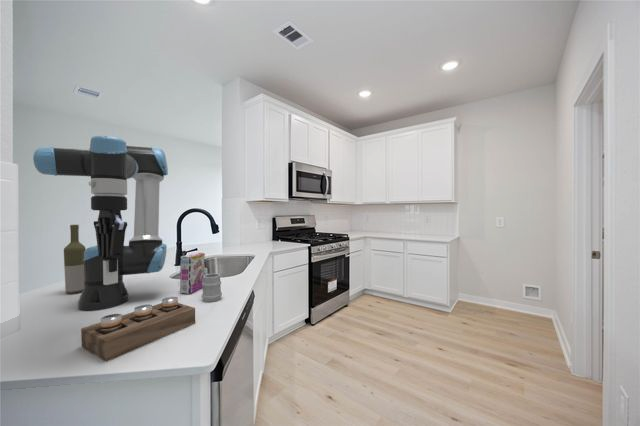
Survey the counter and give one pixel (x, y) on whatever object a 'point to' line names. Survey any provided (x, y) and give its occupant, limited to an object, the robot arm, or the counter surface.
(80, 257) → the bottle
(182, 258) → the candy bar box
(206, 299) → the mug
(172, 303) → the knob
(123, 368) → the counter surface
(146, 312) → the knob
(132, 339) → the wooden candle holder
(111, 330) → the knob
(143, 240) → the robot arm
